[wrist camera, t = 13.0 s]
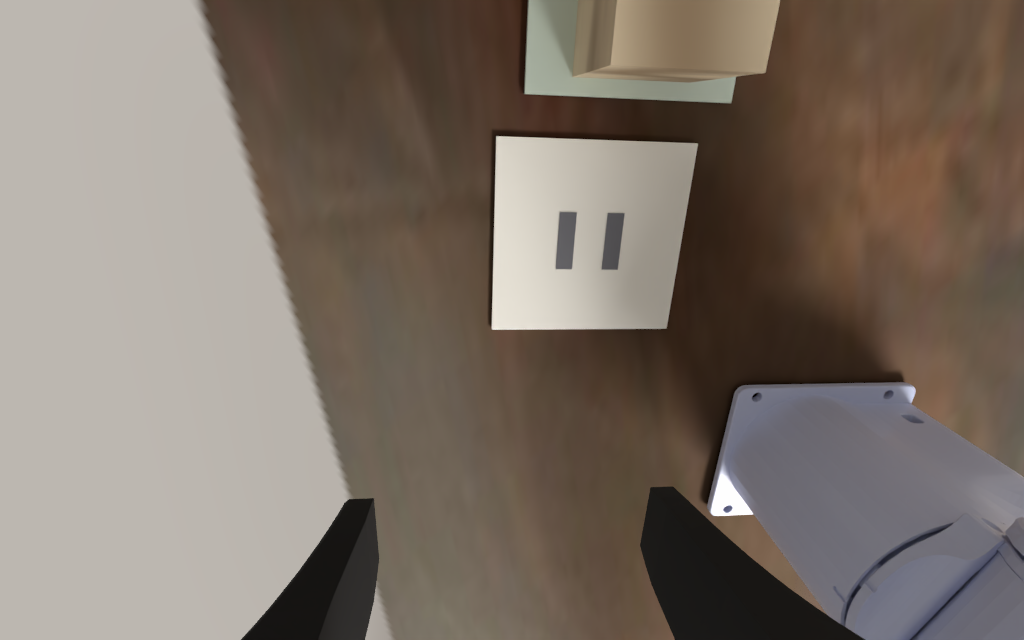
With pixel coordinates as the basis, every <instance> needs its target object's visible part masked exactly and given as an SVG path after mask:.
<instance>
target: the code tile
mask: <svg viewBox="0 0 1024 640" xmlns="http://www.w3.org/2000/svg"><path fill="white" fill-rule="evenodd" d="M697 147H698V143H677V142H649V141H621V140H593V139H565V138H537V137H509V136H496V160H495V203H494V245H493V288H492V330H518V329H667V323H668V317H669V311H670V306H671V300H672V294H673V288H674V282H675V276H676V270H677V264H678V259H679V253H680V247H681V241H682V235H683V229H684V223H685V218H686V212H687V206H688V200H689V194H690V188H691V182H692V177H693V171H694V165H695V159H696V153H697Z"/></svg>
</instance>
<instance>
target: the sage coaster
mask: <svg viewBox="0 0 1024 640" xmlns="http://www.w3.org/2000/svg"><path fill="white" fill-rule="evenodd" d="M577 8H578V0H528V7H527V30H526V54H525V78H524V94H531V95H553V96H575V97H598V98H620V99H642V100H665V101H687V102H709V103H731V102H732V96H733V91H734V86H735V80H736V77H730V78H722V79H714V80H706V81H699V82H691V83H687V82H666V81H644V80H623V79H601V78H580V77H572V76H573V62H574V49H575V35H576V22H577Z"/></svg>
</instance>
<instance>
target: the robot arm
mask: <svg viewBox="0 0 1024 640" xmlns="http://www.w3.org/2000/svg"><path fill="white" fill-rule="evenodd" d="M915 391H916V390H915V387H913V386H912V385H910V384H909V383H906V382H888V383H830V384H773V385H743V386H741V387H739V388H738V389H737V390H736V391H735V393H734V396H733V401H732V405H731V409H730V413H729V417H728V421H727V425H726V430H725V434H724V438H723V442H722V446H721V450H720V455H719V459H718V463H717V467H716V471H715V475H714V480H713V484H712V488H711V492H710V496H709V500H708V504H707V508H708V510H709V511H710V513H711V514H712V515H714V516H726V515H748V514H754V515H755V517H756V518H757V519H758V521H759V522H760V523H761V525H762V526H763V528H764V529H765V530H766V532H767V533H768V534H769V536H770V537H771V539H772V540H773V541H774V543H775V544H776V545H777V547H778V548H779V549H780V551H781V552H782V554H783V555H784V556H785V558H786V559H787V560H788V562H789V563H790V564H791V566H792V567H793V569H794V570H795V571H796V573H797V574H798V575H799V577H800V578H801V579H802V581H803V582H804V584H805V585H806V586H807V588H808V589H809V590H810V592H811V593H812V594H813V596H814V597H815V599H816V600H817V601H818V603H819V604H820V605H821V607H822V608H823V609H824V611H825V612H826V614H827V615H826V614H825V613H823V612H822V611H820V610H819V609H817V608H816V607H814V606H813V605H812V604H810V603H809V602H807V601H806V600H805V599H803V598H802V597H801V596H799V595H798V594H796V593H795V592H794V591H792V590H791V589H789V588H788V587H787V586H786V585H784V584H783V583H782V582H780V581H779V580H778V579H776V578H775V577H774V576H773V575H771V574H770V573H769V572H768V571H766V570H765V569H764V568H763V567H762V566H760V565H759V564H758V563H757V562H755V561H754V560H753V559H752V558H751V557H749V556H748V555H747V554H746V553H745V552H744V551H742V550H741V549H740V548H739V547H738V546H737V545H736V544H734V543H733V542H732V541H731V540H730V539H729V538H728V537H727V536H725V535H724V534H723V533H722V532H721V531H720V530H719V529H718V528H717V527H716V526H714V525H713V524H712V523H711V522H710V521H709V520H708V519H707V518H706V517H705V516H704V515H703V514H702V513H701V512H699V511H698V510H697V509H696V508H695V507H694V506H693V505H692V504H691V503H690V502H689V501H688V500H687V499H686V498H685V497H684V496H682V495H681V494H680V493H679V492H678V491H677V490H676V489H675V488H674V487H651V488H650V494H649V499H648V505H647V511H646V516H645V522H644V527H643V533H642V538H641V544H640V547H641V550H642V554H643V557H644V561H645V564H646V568H647V571H648V574H649V577H650V581H651V584H652V586H653V589H654V591H655V594H656V596H657V598H658V601H659V603H660V605H661V608H662V610H663V613H664V615H665V617H666V620H667V622H668V624H669V626H670V629H671V631H672V633H673V636H674V638H675V640H1024V477H1023V476H1021V475H1020V474H1018V473H1017V472H1015V471H1014V470H1012V469H1011V468H1009V467H1008V466H1006V465H1005V464H1003V463H1001V462H1000V461H998V460H997V459H995V458H994V457H992V456H991V455H989V454H988V453H986V452H984V451H983V450H981V449H980V448H978V447H977V446H975V445H974V444H972V443H971V442H969V441H967V440H966V439H964V438H963V437H961V436H960V435H958V434H957V433H955V432H953V431H952V430H950V429H949V428H947V427H946V426H944V425H943V424H941V423H940V422H938V421H936V420H935V419H933V418H932V417H930V416H929V415H927V414H926V413H924V412H922V411H921V410H919V409H918V408H916V407H915V406H913V405H912V404H911V403H912V400H913V398H914V395H915ZM885 392H886V393H885ZM755 393H758V394H757V395H756V396H755V397H753V398H752V396H753V395H754V394H755ZM725 506H726V507H725ZM378 563H379V553H378V541H377V530H376V519H375V507H374V498H372V499H349V500H348V501H347V502H345V503H344V505H343V507H342V508H341V510H340V512H339V514H338V515H337V517H336V518H335V520H334V521H333V523H332V525H331V526H330V528H329V529H328V531H327V532H326V534H325V535H324V537H323V538H322V539H321V541H320V543H319V544H318V545H317V547H316V548H315V549H314V551H313V552H312V554H311V555H310V557H309V558H308V559H307V561H306V562H305V563H304V565H303V566H302V567H301V569H300V570H299V572H298V573H297V574H296V575H295V577H294V578H293V579H292V580H291V582H290V583H289V584H288V586H287V587H286V588H285V589H284V591H283V592H282V593H281V594H280V596H279V597H278V598H277V600H275V602H274V603H273V604H272V605H271V607H270V608H269V609H268V610H267V611H266V612H265V614H264V615H263V616H262V617H261V618H260V619H259V620H258V622H257V623H256V624H255V625H254V626H253V627H252V628H251V630H250V631H249V632H248V633H247V634H246V635H245V636H244V637H243V638H242V639H241V640H365V636H366V632H367V628H368V624H369V619H370V615H371V611H372V606H373V602H374V595H375V587H376V580H377V572H378Z"/></svg>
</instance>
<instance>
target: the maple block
mask: <svg viewBox="0 0 1024 640" xmlns="http://www.w3.org/2000/svg"><path fill="white" fill-rule="evenodd" d="M779 4H780V0H578V8H577V22H576V35H575V49H574V62H573V76H572V77H580V78H601V79H623V80H644V81H666V82H687V83H691V82H699V81H706V80H714V79H722V78H730V77H737V76H745V75H753V74H760V73H765V72H766V67H767V62H768V58H769V53H770V48H771V43H772V38H773V33H774V29H775V24H776V19H777V14H778V9H779Z"/></svg>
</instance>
